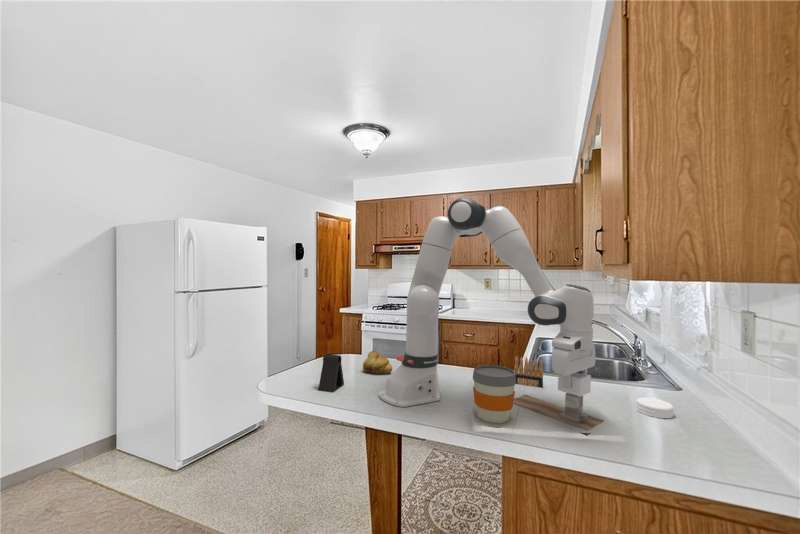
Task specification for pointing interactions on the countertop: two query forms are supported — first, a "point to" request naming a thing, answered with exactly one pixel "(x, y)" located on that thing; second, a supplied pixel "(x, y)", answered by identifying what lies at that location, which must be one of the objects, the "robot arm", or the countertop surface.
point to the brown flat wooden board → (561, 410)
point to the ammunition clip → (532, 378)
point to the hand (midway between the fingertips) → (574, 385)
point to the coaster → (654, 407)
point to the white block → (576, 384)
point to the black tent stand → (331, 373)
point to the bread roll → (377, 364)
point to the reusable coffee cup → (494, 392)
